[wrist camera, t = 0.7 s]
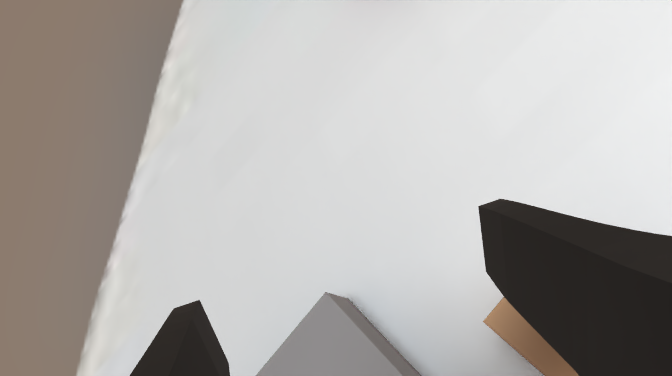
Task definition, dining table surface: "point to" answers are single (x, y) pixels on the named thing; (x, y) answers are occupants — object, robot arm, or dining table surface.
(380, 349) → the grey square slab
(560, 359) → the walnut block
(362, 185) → the dining table surface
